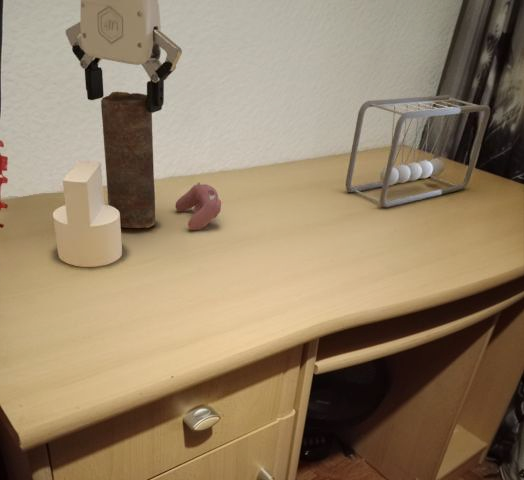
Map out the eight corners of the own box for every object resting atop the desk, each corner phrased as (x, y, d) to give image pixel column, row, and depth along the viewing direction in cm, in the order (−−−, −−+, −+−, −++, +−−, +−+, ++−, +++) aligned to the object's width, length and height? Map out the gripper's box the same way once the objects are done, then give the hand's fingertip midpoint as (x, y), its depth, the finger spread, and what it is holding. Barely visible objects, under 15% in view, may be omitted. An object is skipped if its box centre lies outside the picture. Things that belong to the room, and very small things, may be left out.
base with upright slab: (67, 238, 83) (57, 158, 76) (127, 242, 84) (122, 164, 77) (50, 264, 76) (37, 178, 69) (115, 269, 76) (109, 184, 69)
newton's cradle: (430, 175, 129) (452, 94, 119) (467, 189, 123) (494, 105, 112) (342, 192, 112) (359, 100, 102) (380, 210, 106) (402, 113, 96)
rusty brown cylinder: (138, 238, 85) (132, 101, 74) (99, 227, 87) (88, 92, 76) (164, 223, 91) (162, 94, 79) (127, 213, 93) (120, 85, 82)
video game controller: (210, 239, 91) (230, 202, 89) (187, 229, 88) (206, 191, 86) (194, 216, 98) (212, 182, 96) (172, 207, 96) (190, 171, 93)
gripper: (42, -50, 67) (57, 98, 77) (167, -33, 64) (166, 120, 74) (78, -47, 73) (88, 90, 83) (194, -30, 70) (190, 111, 80)
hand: (124, 104), depth 78 cm, fingers open, 9 cm apart
